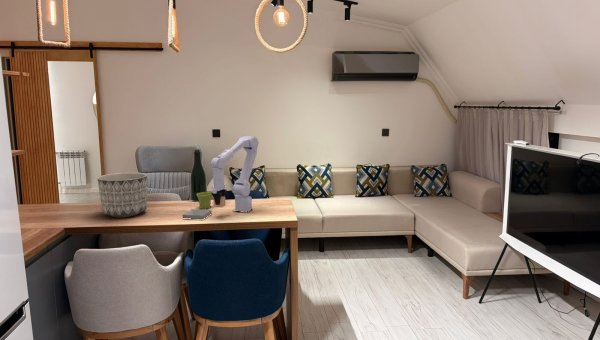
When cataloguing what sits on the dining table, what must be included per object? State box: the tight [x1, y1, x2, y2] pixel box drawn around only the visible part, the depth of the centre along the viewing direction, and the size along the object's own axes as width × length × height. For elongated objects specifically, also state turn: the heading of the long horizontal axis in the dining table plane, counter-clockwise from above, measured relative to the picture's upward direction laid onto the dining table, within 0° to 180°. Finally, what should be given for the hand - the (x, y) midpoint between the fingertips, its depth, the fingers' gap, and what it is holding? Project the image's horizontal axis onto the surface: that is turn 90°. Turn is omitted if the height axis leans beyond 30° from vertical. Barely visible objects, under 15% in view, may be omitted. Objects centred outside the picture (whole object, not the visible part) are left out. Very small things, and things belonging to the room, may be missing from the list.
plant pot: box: [196, 191, 213, 210], centre depth 265 cm, size 9×9×9 cm
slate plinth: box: [182, 208, 213, 220], centre depth 245 cm, size 12×12×3 cm
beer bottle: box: [189, 148, 208, 202], centre depth 283 cm, size 10×10×33 cm
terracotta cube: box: [212, 195, 226, 208], centre depth 245 cm, size 5×5×5 cm
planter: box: [97, 172, 148, 218], centre depth 249 cm, size 26×26×22 cm
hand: (219, 203), depth 245 cm, fingers closed on terracotta cube, 5 cm apart
